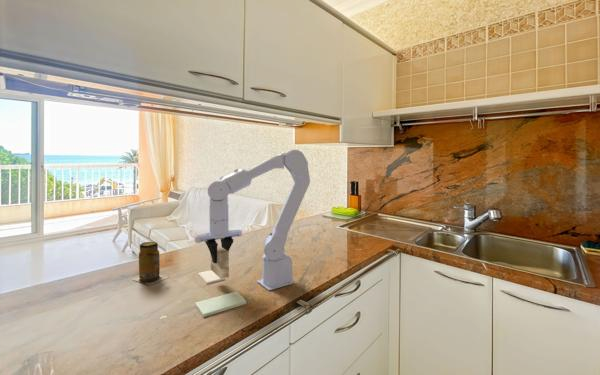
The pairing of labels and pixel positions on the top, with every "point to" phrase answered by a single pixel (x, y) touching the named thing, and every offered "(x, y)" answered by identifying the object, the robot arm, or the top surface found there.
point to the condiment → (149, 264)
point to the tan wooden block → (221, 263)
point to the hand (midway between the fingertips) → (219, 261)
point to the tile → (209, 277)
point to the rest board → (220, 303)
